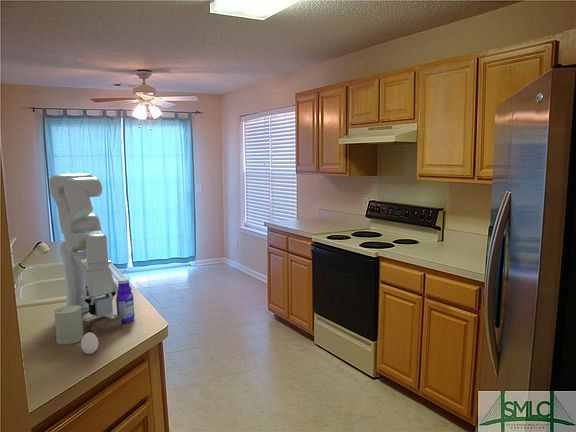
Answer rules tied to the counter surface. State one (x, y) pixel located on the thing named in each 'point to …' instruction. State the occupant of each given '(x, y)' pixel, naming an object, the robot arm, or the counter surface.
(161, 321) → the counter surface
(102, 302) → the grey cube
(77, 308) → the can
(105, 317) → the walnut block
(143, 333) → the counter surface
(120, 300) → the bottle
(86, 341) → the egg
